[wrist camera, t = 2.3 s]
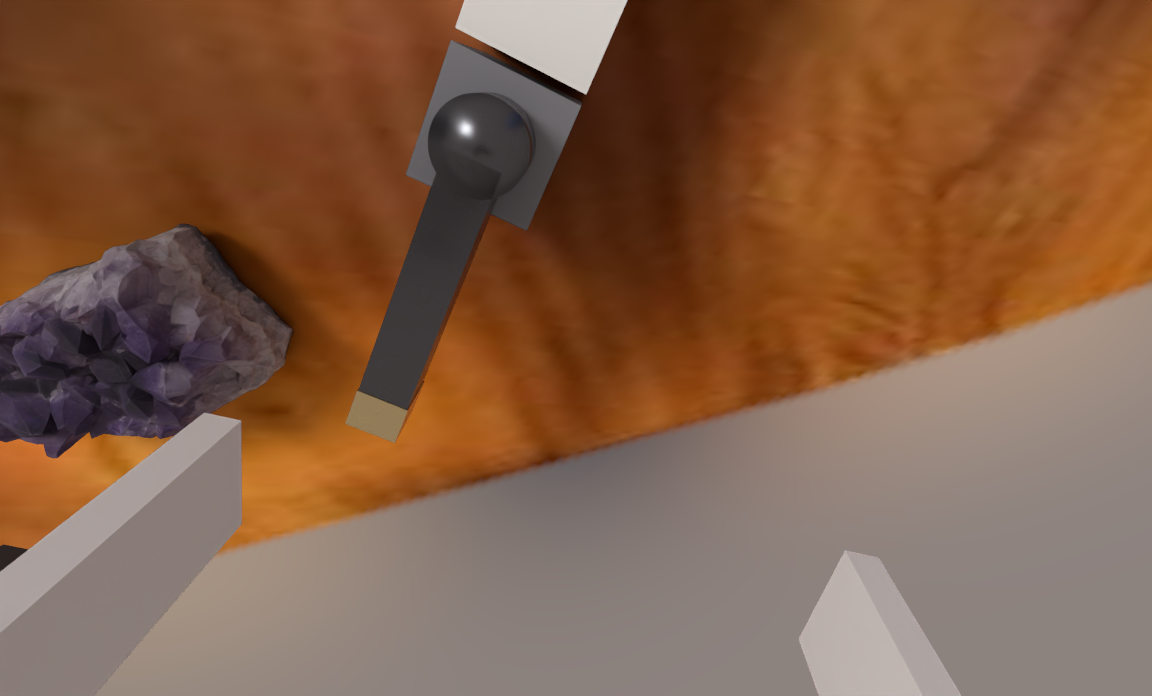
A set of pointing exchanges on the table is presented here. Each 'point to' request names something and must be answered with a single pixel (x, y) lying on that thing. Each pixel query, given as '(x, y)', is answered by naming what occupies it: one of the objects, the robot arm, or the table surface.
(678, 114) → the table surface
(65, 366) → the geode
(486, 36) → the white box with knob
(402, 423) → the bar
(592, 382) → the table surface
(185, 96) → the table surface
